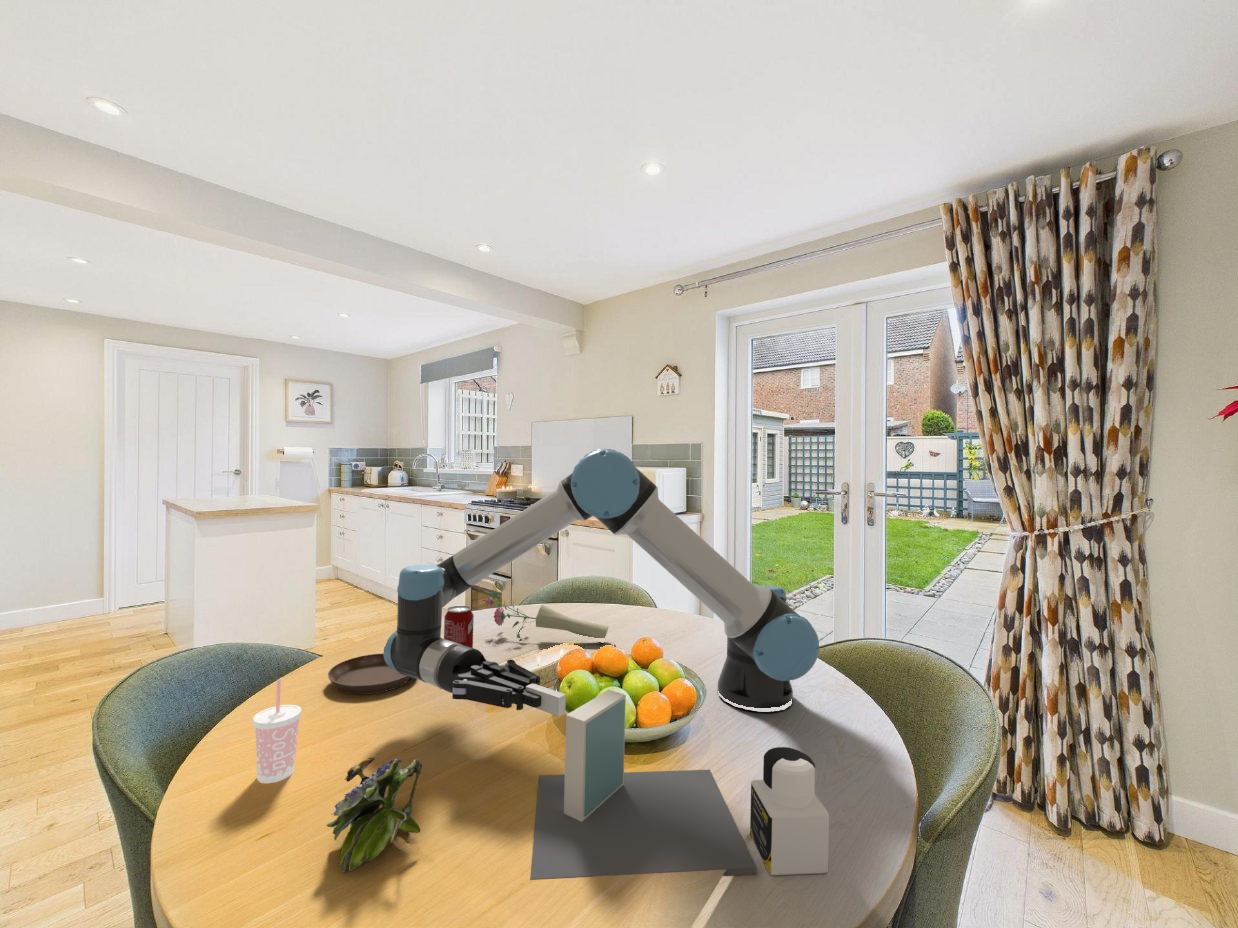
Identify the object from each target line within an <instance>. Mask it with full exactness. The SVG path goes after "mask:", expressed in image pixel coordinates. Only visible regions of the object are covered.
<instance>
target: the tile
mask: <svg viewBox="0 0 1238 928" xmlns="http://www.w3.org/2000/svg"><path fill="white" fill-rule="evenodd" d="M626 696H627V695H626V694H624V693H620V692H618V691H615V690H611V689H608V690H606V691H604V692H603V693H600V694H599V695H598V696H597V695H596V697H593V698H592V699H591V700H589V701H587V702H586V703H584V704H582V705H581V706H579V707H577V708H575V709H574V710H572V711H570V712H569V713H567V714H566V715H565V746H564V748H565V750H564V752H565V753H564V755H565V756H564V757H565V758H564V774H565V786H564V814H566V815H568V816H570V817H572V818H575V819H577V820H579V821H581V822H582V821H584V820H585V819H586V818H587V817H588V816H589V815H590V814H591V813H592V812H594V811H595V810H596V809H597V808H598V807H599V806H600V805H601V804H602V803H604V802H605V801H606V800H607V799H608V798H609V797H610V796H611V795H613V794H614V793H615V792H616V791H617V790H618V789H619V788H620V787H621V786H623V785H624V772H625V746H626V745H625V744H626V743H625V742H626V741H625V738H626V737H625V736H626V735H625V734H626V731H625V729H626V699H627V698H626Z"/></svg>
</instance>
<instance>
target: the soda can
mask: <svg viewBox="0 0 1238 928" xmlns="http://www.w3.org/2000/svg"><path fill="white" fill-rule="evenodd" d="M474 615H475V614H474V613H473V612H472V607H471V606H469V605H464V604H462V605H453V606H449V607H447V612H446V614H445V615H444V624H443V639H445V640H449V641H452V642H456V643H459V644H462V645H464V646H468V647H471V648H474V645H473V644H474Z"/></svg>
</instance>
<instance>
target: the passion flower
mask: <svg viewBox="0 0 1238 928" xmlns="http://www.w3.org/2000/svg"><path fill="white" fill-rule="evenodd" d="M375 759H376V756H370V757H368V758H366V759H363V760H362V761H360V763H359V764H355V765H354V766H352V767H351V768H349V769H348V770H347V772H346V773H347V774H346V776H345V777H344V780H346V782H350V781H352V780H353V779H354V778H356V777H357V776H359V777H360V779H361V781H360V783H359V785H358V786H356V785H355V786H354V787H353V788H352V789H351V790H350V791H349V792H347V793H346V794H344V798H343V799H341V800H339V801H338V802H337V803H336V804H335V805H334V808H335V811H334V812H333V813H332V814H330V815H331V816H332V815H333V817H335V816H337V817H336V818H335V819H334V820H333V821H330V822H328V823H327V824H326V827H327V828H333V830H332V834H333V835H334V836H333V839H334V840H333V841H337V839H338V837H339V836H340V834H341V833H342V831H344V830H346V829H347V828H348V827H349V826H350V828H349V830H348V832H347V834H346V836H345V838H344V840H343V844H342V847H341V851H340V854H339V865H340V868H341V869H340V870H341V871H342V872H343V873H346V870H347V865H348V871H350V872H351V871H354V870H355V869H357V868H358V867H360V866H361V865H363V863H364V862H371V861H373V860H374V859H375V858H377V857H378V856H379V855H380V854H381V852H383V850H384V849H386V847H387V846H388V843H390V842H391V843H395V841H396V839H397V833H398V832H399V829H401V830H403V831H404V832H406V835H408V836H409V835H410V834H419V833H421V827H420V826H419V824H418V823H417V822H416V821H415V819H413V818H412V816H411V815H412V808H413V806H412V805H413V804H412V802H413V798H414V794H415V792H416V787H417V784H418V781H419V777H420V775H421V772H422V771H421V770H422V767H423V764H422V762H421V761H420V759H419V757H417V758H416V759H414V760H413V761H412V762H411V764H410V765H408V766H406V767H404V768H401V766H402V764H403V760H402V759H400V758H398V757H396V758H393V759H391V760H390V761H388V763H387V762H386V763H383V765H382V766H379V767H378V768H377V770H376V771H375V772H374V773H372V774H371V775H370V776H366V775H365V774H364V772H363V771H364V770H365V769H366V768H367V767H368V766H369V765H370V764H372V763H373V762H374V761H375ZM414 774H416V776H415V779H414V781H413V782H414V783H413V786H412V789H411V793H410V796H409V798H408V801H407V803H406V805H405V806H404V807H403V808H402V809H400V808H396V807H395V799H396V797H397V795H398V793H399V790H400V788H401V786H402V784H403V783H404V782H405V781H406V780H407V779H408V778H409V777H410V778H412V777H413V776H414ZM387 787H388V790H387ZM386 790H387V796H385V794H386ZM389 841H390V842H389ZM406 842H407V844H409V843H410V841H406Z"/></svg>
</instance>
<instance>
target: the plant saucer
mask: <svg viewBox="0 0 1238 928" xmlns="http://www.w3.org/2000/svg"><path fill="white" fill-rule="evenodd" d="M327 678H328V679H329V681H330V682H331V684H333V685H334V687H336V688H337V690H339V691H341V692H344V693H347V694H351V695H370V694H371V693H373V694H378V693H377V692H379V693H383V691H384V692H387V691H386V690H388V691H390V689H391V690H394V689H397V688H399V687H400V685H401V686H403V685H404V684H405V682H406V683H407V682H408V681H409V680H410V679H411V678H412V677H410V676H407V675H406V676H405V675H402V674H400V673H398V672H397V671H396V670H394V669H392V668H390V667H389V666H388V665H387V664H386V662H385V660H384V655H383V652H382V653H372V654H366V655H361V656H360V655H359V656H357V657H353V658H352V657H351V658H349V659H346V660H344V661H341V662H339V663H336V665H334V666H333V667H331V668H330V669H329V671H328V672H327ZM402 684H403V685H402ZM396 687H397V688H396ZM393 688H394V689H393ZM371 695H372V694H371Z"/></svg>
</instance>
